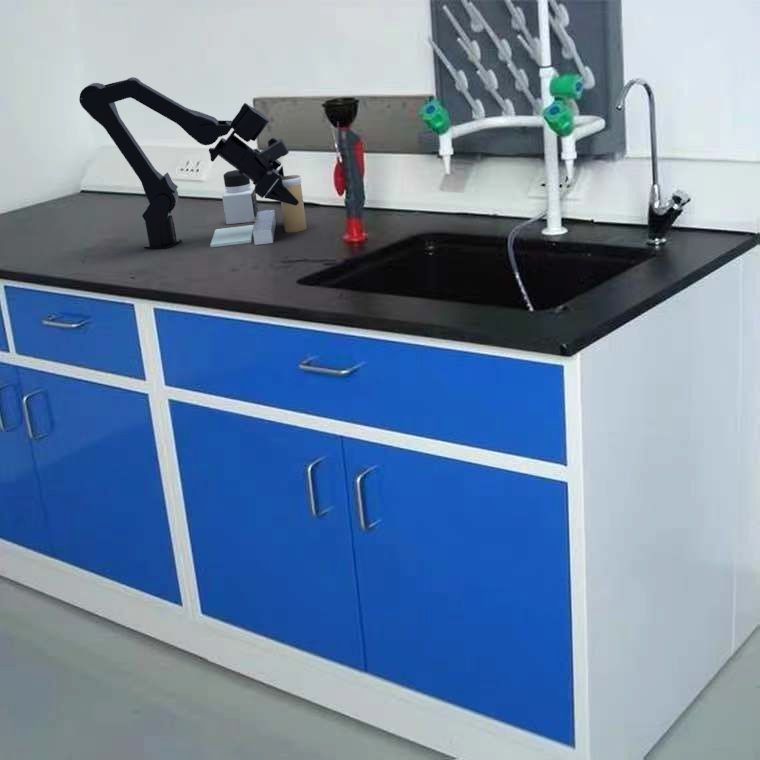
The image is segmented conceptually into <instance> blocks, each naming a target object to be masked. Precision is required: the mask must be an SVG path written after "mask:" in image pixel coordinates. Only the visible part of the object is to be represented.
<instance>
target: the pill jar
mask: <svg viewBox="0 0 760 760" xmlns="http://www.w3.org/2000/svg"><path fill="white" fill-rule="evenodd" d="M282 181H283V185H284V186H285V187H286V188H287V189H288V190H289V191H290V192H291V193H292V194H293V196H294V197H295V198H296V199H297V200H298V201H299V203H298V204H297V205H296V206H295V205H292V204H288V203H284V202H280V205H281V212H282V218H283V219H282V220H283V227H284V232H286V233H297V232H299V233H300V232H302V231H305V230H307V229H308V228H307V227H308V226H307V220H306V219H307V218H306V213H305V212H306V211H305V207H304V206H305V205H304V203H305V202H304V198H303V197H304V196H303V191H302V189H303V188H302V178H301V175H299V174H292V175H290V174H289V175H284V176H283V177H282Z"/></svg>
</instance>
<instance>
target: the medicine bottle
mask: <svg viewBox="0 0 760 760" xmlns="http://www.w3.org/2000/svg"><path fill="white" fill-rule="evenodd" d="M223 180H224V181H223V182H224V188H225V191H224V192H223V194H222V196H221V197H222V204H223V210H224V217H225V224H226V225H235V224H236V225H237V224H244V223H245V224H246V223H247V224H248V223H253V222H254V223H255V220H256V215H257V212H259V208H258V207H259V206H258V201H257V194H256V192H255V186H251V180H250V179H249V178H248V177H246V176H245V175H244V174H242V175H241V174H240V173H238V170H237V169H233V170H228V171H226V172H225V173H223Z"/></svg>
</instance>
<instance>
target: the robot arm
mask: <svg viewBox="0 0 760 760" xmlns="http://www.w3.org/2000/svg"><path fill="white" fill-rule="evenodd" d="M78 98H79V100H78V101H79V103H80V105H81V108H83V109H84V111H86V113H87V114H88V115H89V116H90V117H91V118H92V119H94V121H95V122H97V123H98V124H99V125H100V126H102V127H103V128H104V130H105V131H106V132H107V134H108V135H109V137H110V139H111V140H112V141H113V143H114V144H115V145H116V147H117V148H118V150H119V151H120V152H121V154H122V156H123V157H124V158H125V160H126V162H127V164H128V165H129V166H130V167H131V169H132V171H133V172H134V173H135V174H136V176H137V178H138V179H139V181H140V183H141V185H142V188H143V191H144V194H145V196H146V199H147V201H148V202H149V204H148V206H147V207H146V208H145V210H144V212H143V214H142V216H141V217H142V218H143V220H144V222H145V223H144V224H145V228H146V235H147V241H148V243H147V244H146V245H144V246H143V248H144V249H168V248H169V249H170V247H172V246H175V245H177V244H180V243H181V242H183V240H182V239H181V238H177V235H176V234H177V233H176V229H175V223H174V222H175V221H174V219H173V215H172V214H171V213H172V211H173V210H174V209H175V207H176V205H177V203H178V200H179V192H178V188H179V186H178V185H177V184H175V183H174V181H173V180H172V178H171V175H170V174H169V172H166V173H165V174H164V175H162V173H161V172H159V171H157V169H156V168H155V167H154V166H153V164H152V162H151V161H150V159H149V158H148V156H147V155H146V153H144V150H143V149H142V148H141V146H140V145H139V144H138V142H137V141H136V138H135V137H134V136H133V134H132V133H131V132H130V130H129V129H128V127H127V126H126V124H125V123H124V121H123V120H122V118H121V116H120V114H119V111H118V108H117V106H116V102H119V101H123V100H126V99H129V98H130V99H133V100H135V101H137V102H138V103H140V104H142V105H143V106H145V107H147V108H148V109H150V110H152V111H154V112H156V113H158V114H160V115H161V116H163V117H164V118H166V119H168V120H170V121H172V123H175V124H176V125H178V126H179V127H180V128H181V129H183V131H184V132H186V133H187V135H188V136H190V137H191V138H193V140H195V141H196V142H197V143H199V144H200V145H201V146H202V145H203V146H211V145H212V144H214V143H216V142H217V140H218V139H219V138H220V139H219V141H218V142H217V144H216V145H215V146H214V147H210V148H209V149H208V152H209V155H210V161H211V163H212V162H214V161H216V159H217V158H218V156H219V157H220V158H221V159H223V160H224V161H226V162H227V163H228V164H229V165H230V166H232V167H233V168H235V170H238V173H240V174H241V175H242V174H244V175H245V176H246V177H248V178H249V179H250V181H252V185H254V188H255V192H256V196H259V197H260V198H261V199H263V198H264V199H268V200H272V201H277V202H279V203H281V202H284V203H288V204H292V205H295V206H296V205H297V204H298V203H299V201H298V200H297V199H296V198H295V197H294V196H293V194H292V193H291V192H290V191H289V190H288V189H287V188H286V187H285V186H284V185H283V181H282V177H283V176H285V174H284V173H285V172H284V166H283V165H282V162H281V161H280V160H279V159H280V158H282V157H285V156H287V155H288V154H289V152H290V149H289V148H288V146H287V145H286V144H285V142H284V140H283V139H282V138H279V139H277V138H275V137H271V138H270V139H269V140H268V141H267V144H268V145H267V146H266V147H265V148H264V149H262V150H261V151H260V150H259V149H257V148H252V147H250V146H249V145H248V144H246V143H245V142H247V143H249V142H251V141H253V142H255V141H256V140H257V139H258V138H259V136H260V134H261V133H262V132H264V130H265V128H266V127H267V125H268V124H269V123H270V122H271V121H270V119H269V118H268V117H267V116H266V115H265V114H264V113H262V112H261V111H260V110H259V109H256V108H254V107H253V106H250V105H249V104H248V103H247V102H244V103H243V104H242V106H240V110H239V111H238V112H237V114H236V115H235V116H234V118H233V119H232V120H218V119H217V118H216V117H214V116H212V115H209V114H207V113H204V112H201V111H199V110H194V109H191V108H188V107H185V106H184V105H182V104H180V103H179V102H177V101H175V100H173V99H171V98H169V97H168V96H166V95H165V94H163V93H161V92H159V91H158V90H156V89H154V88H152V87H151V86H149V85H148V84H146V83H143V82H142V81H141V80H140V79H139V78H137V77H135V76H134V77H132V76H131V77H129V78H127V79H124V80H120V81H115V82H110V83H108V84H103V83H99V82H92V83H90V84H88V85H86V87H84V88H83V89H82V90H81V91H80V94H79V97H78ZM232 129H233V131H232V132H231V130H232ZM229 132H231V133H230V134H229ZM228 134H229V136H228V137H227V138H223V137H224V136H227V135H228ZM236 135H237V136H236ZM279 167H280V168H279Z"/></svg>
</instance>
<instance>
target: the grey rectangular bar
mask: <svg viewBox="0 0 760 760" xmlns="http://www.w3.org/2000/svg"><path fill="white" fill-rule="evenodd" d="M276 223H277V222H276V214H275V209H267V208H265V209H264V210H261V211H259V210H258V212H257V215H256V220H255V222H254V224H253V225H254V229H253V236H252V237H253V241H254V246H257V245H259V246H260V245H265V244H273V243H274V237H275V232H276V231H275V230H276V225H277V224H276Z"/></svg>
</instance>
